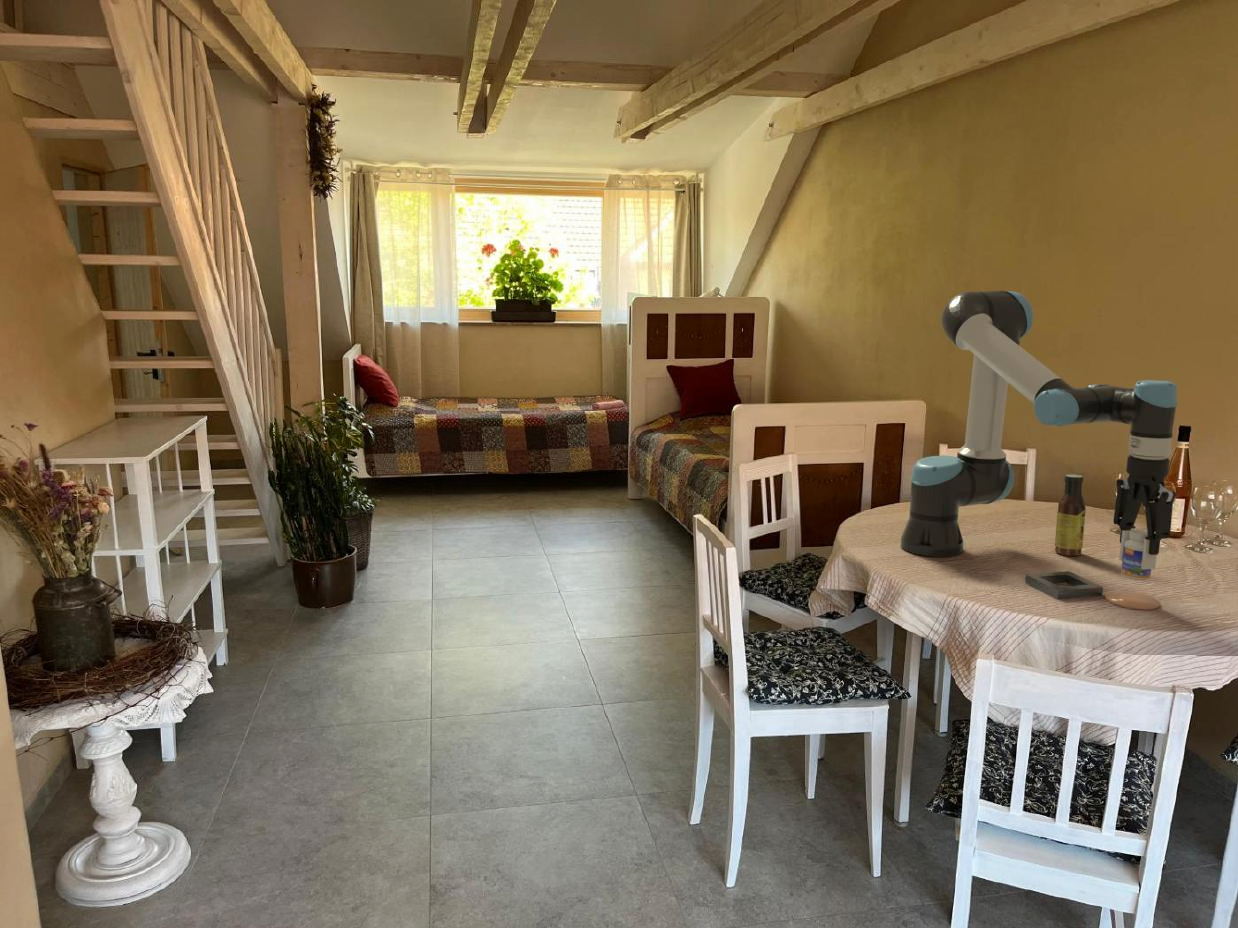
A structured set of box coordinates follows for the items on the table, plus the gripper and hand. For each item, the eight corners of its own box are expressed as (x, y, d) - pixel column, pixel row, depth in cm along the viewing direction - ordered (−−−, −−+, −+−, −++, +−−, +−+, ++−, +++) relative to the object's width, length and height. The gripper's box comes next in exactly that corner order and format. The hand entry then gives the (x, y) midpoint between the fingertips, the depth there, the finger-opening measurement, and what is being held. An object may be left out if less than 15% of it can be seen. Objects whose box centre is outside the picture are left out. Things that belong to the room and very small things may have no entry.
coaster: (1094, 595, 192) (1094, 592, 192) (1134, 591, 194) (1134, 589, 194) (1129, 611, 183) (1129, 609, 183) (1170, 608, 185) (1171, 605, 185)
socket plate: (1024, 582, 201) (1025, 574, 200) (1067, 579, 203) (1068, 571, 202) (1057, 599, 190) (1058, 590, 190) (1102, 595, 192) (1103, 586, 192)
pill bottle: (1117, 576, 187) (1121, 532, 185) (1125, 570, 191) (1130, 527, 189) (1145, 582, 183) (1151, 537, 182) (1153, 576, 187) (1158, 532, 185)
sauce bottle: (1084, 557, 218) (1093, 479, 214) (1057, 556, 220) (1065, 478, 216) (1077, 549, 225) (1084, 473, 221) (1050, 548, 226) (1057, 472, 222)
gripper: (1100, 449, 190) (1090, 552, 195) (1168, 465, 173) (1155, 579, 177) (1130, 447, 192) (1119, 550, 196) (1201, 463, 174) (1187, 576, 179)
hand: (1136, 563), depth 187 cm, fingers closed on pill bottle, 5 cm apart
